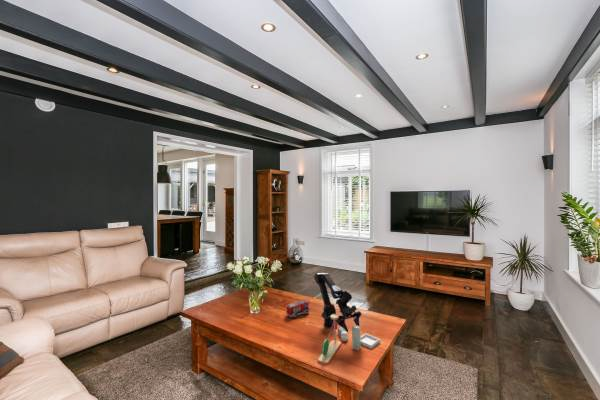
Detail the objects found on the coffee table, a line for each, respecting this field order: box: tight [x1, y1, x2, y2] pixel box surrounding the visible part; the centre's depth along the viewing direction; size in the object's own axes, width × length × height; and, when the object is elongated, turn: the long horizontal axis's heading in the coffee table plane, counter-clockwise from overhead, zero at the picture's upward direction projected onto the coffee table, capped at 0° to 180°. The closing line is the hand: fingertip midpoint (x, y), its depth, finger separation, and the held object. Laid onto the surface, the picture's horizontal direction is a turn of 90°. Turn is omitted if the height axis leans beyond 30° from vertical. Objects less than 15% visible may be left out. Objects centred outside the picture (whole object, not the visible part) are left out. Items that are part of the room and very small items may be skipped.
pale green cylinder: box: [351, 324, 362, 351], centre depth 179 cm, size 5×5×13 cm
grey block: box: [337, 326, 347, 338], centre depth 196 cm, size 5×5×4 cm
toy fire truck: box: [285, 298, 311, 319], centre depth 229 cm, size 9×19×10 cm, turn 123°
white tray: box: [361, 333, 381, 349], centre depth 186 cm, size 11×11×2 cm
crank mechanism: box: [317, 314, 342, 366], centre depth 174 cm, size 25×7×19 cm, turn 153°
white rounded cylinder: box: [340, 331, 349, 342], centre depth 190 cm, size 4×4×4 cm
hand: (353, 330), depth 182 cm, fingers open, 8 cm apart
